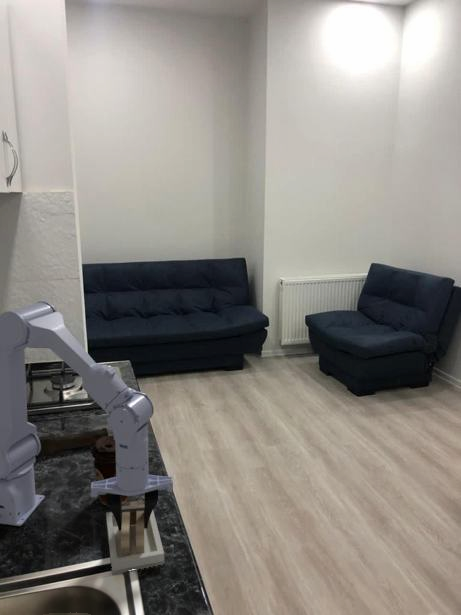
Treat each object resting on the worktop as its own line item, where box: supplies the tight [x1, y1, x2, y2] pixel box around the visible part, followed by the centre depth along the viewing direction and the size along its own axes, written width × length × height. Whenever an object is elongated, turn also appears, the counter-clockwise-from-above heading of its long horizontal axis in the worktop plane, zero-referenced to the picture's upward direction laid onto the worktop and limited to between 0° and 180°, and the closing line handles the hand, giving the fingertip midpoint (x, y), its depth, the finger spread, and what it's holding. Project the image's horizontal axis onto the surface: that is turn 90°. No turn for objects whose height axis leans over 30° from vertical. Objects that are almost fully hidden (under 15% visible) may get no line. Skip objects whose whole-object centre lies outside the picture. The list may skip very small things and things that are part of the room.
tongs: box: [121, 500, 145, 556], centre depth 94 cm, size 10×4×4 cm, turn 10°
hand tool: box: [35, 427, 109, 457], centre depth 127 cm, size 19×4×5 cm, turn 112°
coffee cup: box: [90, 434, 130, 506], centre depth 106 cm, size 9×8×13 cm
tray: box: [105, 510, 165, 576], centre depth 94 cm, size 14×9×2 cm, turn 17°
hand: (133, 525), depth 94 cm, fingers closed on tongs, 4 cm apart
